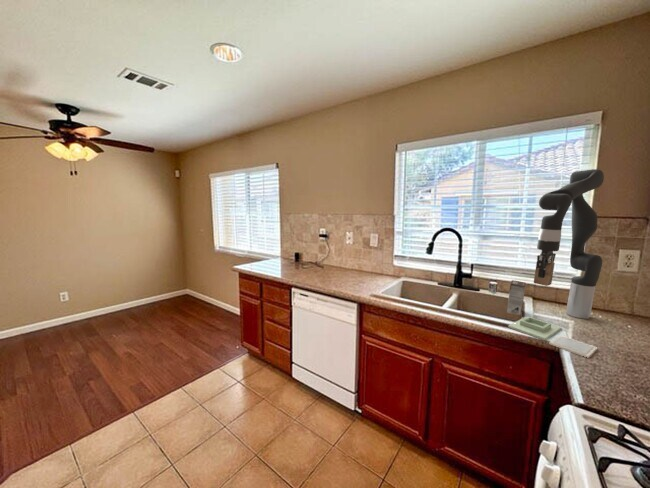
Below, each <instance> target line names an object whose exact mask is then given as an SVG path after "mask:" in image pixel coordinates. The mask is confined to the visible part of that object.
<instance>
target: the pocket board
mask: <svg viewBox="0 0 650 488" xmlns="http://www.w3.org/2000/svg"><path fill="white" fill-rule="evenodd" d="M514 323H516V324H514ZM507 328H508V329H512V330H515V331H517V332H520V333H522V334H525V335H529V336H530V337H534V338H537V339H539V340H543V341H546V340H548V339H549V338H551V337H552V336H554V335H555V334H556V333H558V332H559V331H561V330H562V329H563V328H562V326H559V325H557V324H554V323H550V322H546V321H544V320H540V319H537V318H534V317H531V316H528V315H526V316H523V317H522V318H519V320H515V321H514V322H512V323H510V324H508V326H507Z"/></svg>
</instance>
